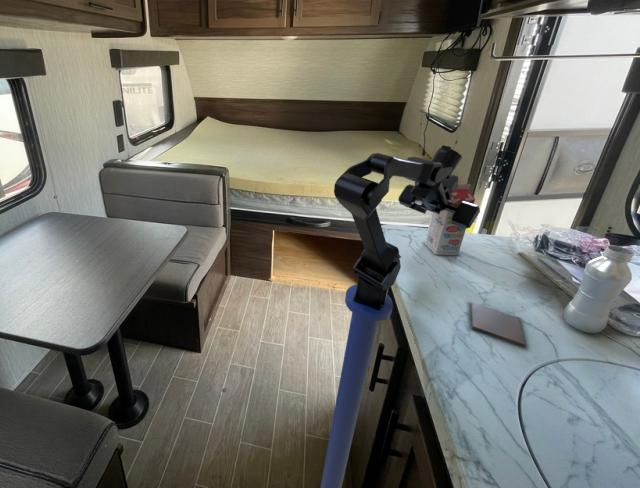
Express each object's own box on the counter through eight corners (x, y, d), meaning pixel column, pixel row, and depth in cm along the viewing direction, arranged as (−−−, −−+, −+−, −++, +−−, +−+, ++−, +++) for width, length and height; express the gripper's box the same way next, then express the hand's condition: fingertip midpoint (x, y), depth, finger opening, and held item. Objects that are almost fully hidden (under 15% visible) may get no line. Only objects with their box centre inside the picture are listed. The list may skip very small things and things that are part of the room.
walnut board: (471, 328, 71) (472, 326, 71) (470, 304, 78) (471, 302, 78) (523, 347, 66) (525, 344, 66) (517, 320, 73) (519, 317, 73)
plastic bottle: (610, 339, 69) (656, 260, 61) (574, 335, 69) (615, 257, 62) (585, 317, 74) (624, 243, 67) (552, 313, 75) (587, 240, 68)
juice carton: (424, 243, 104) (441, 179, 96) (445, 243, 104) (463, 180, 96) (435, 254, 98) (454, 188, 90) (457, 255, 98) (478, 188, 89)
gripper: (488, 176, 77) (492, 207, 87) (411, 157, 91) (423, 185, 101) (465, 214, 75) (472, 241, 85) (391, 189, 89) (404, 214, 100)
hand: (441, 218), depth 93 cm, fingers open, 9 cm apart
